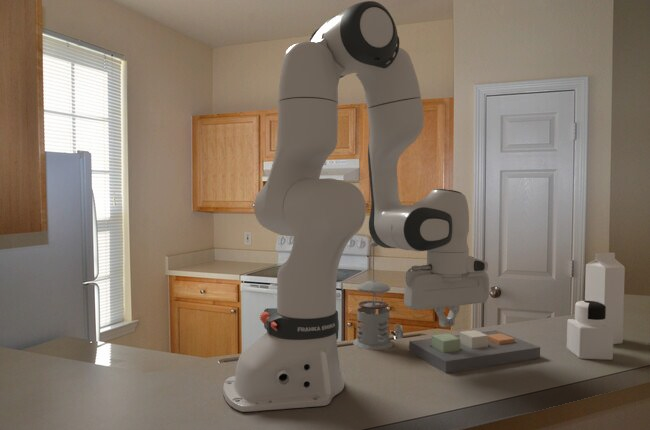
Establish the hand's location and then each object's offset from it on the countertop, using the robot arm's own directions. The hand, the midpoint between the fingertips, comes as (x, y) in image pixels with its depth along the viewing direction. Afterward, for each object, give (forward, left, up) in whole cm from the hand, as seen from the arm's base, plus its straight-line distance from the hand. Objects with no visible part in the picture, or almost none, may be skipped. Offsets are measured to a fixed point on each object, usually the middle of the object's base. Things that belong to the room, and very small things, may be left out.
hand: (446, 325), depth 104 cm
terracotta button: (+15, 0, -7) cm, 16 cm away
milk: (+44, -3, -8) cm, 45 cm away
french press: (-10, +16, -8) cm, 20 cm away
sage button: (0, 0, -5) cm, 5 cm away
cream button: (+7, 0, -5) cm, 9 cm away
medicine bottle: (+32, -9, -8) cm, 34 cm away
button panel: (+7, 0, -7) cm, 10 cm away
